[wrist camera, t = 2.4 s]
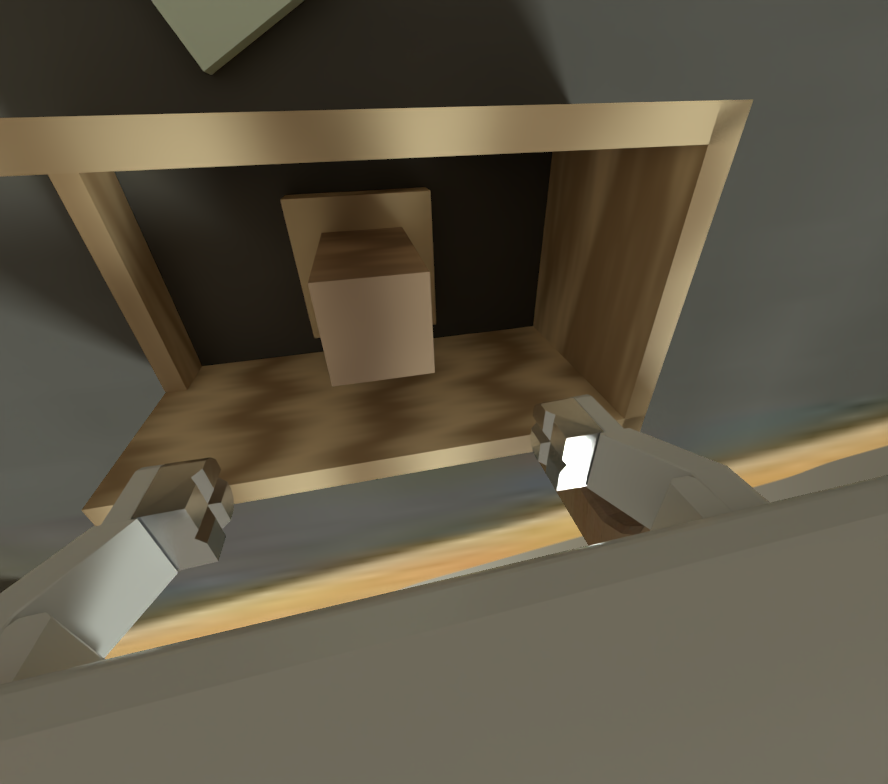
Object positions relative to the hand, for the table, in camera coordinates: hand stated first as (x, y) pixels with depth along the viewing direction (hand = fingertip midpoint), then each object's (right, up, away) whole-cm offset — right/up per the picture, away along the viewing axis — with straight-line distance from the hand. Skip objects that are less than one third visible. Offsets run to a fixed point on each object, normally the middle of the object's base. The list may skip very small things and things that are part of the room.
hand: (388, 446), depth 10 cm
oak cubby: (-4, +10, +14) cm, 18 cm away
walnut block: (-3, +9, +13) cm, 16 cm away
